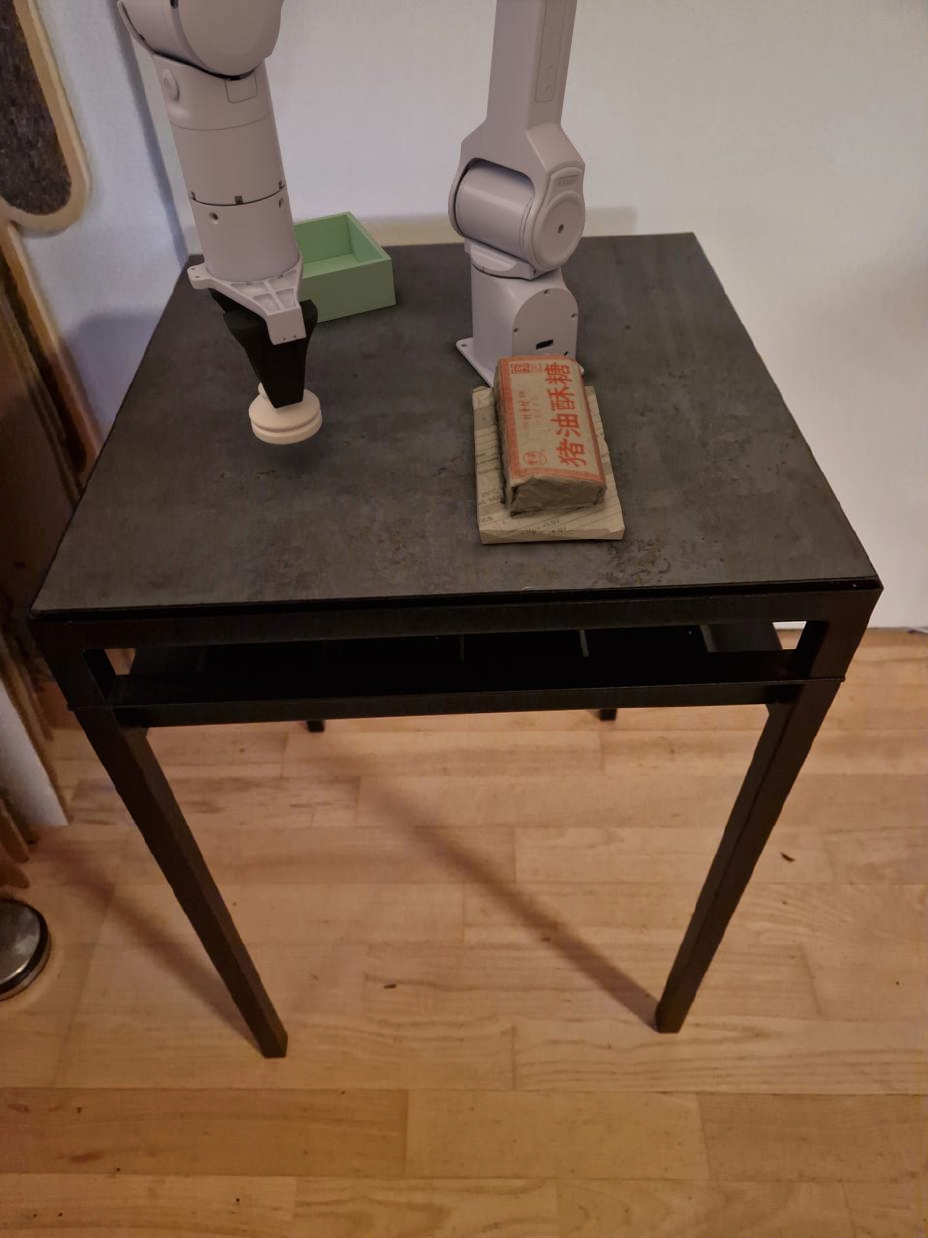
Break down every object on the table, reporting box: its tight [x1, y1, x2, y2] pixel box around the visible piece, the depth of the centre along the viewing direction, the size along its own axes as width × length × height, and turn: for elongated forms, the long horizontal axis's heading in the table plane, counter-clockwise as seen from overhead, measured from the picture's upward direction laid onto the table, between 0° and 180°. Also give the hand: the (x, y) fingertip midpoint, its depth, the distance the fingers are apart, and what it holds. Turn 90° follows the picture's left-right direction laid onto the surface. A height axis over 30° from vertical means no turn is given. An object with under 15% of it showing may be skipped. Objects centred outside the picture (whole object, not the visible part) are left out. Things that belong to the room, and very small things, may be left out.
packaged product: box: [471, 354, 626, 545], centre depth 65 cm, size 18×5×10 cm
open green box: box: [293, 210, 397, 324], centre depth 86 cm, size 12×12×4 cm
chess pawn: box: [248, 382, 323, 446], centre depth 61 cm, size 5×5×9 cm
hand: (280, 389), depth 62 cm, fingers closed on chess pawn, 3 cm apart
